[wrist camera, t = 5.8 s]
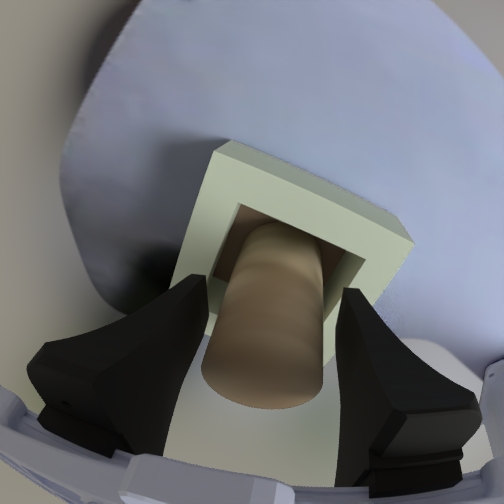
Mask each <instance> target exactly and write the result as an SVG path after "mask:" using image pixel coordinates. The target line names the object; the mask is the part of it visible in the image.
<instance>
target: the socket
mask: <svg viewBox="0 0 504 504" xmlns="http://www.w3.org/2000/svg"><path fill="white" fill-rule="evenodd" d="M274 222H283V223H287V224H290V225H292V226H294V227H296V228H299V229H301V230H303V231H305V232H308V233H310V234H311V235H312V236H313V237H314V238H315V240H316V241H317V243H318V245H319V247H320V250H321V254H322V278H323V368H324V367H325V365H326V364H327V363H328V362H329V360H330V359H331V358H332V357H333V356H334V355H335V327H336V322H337V317H338V313H339V308H340V303H341V298H342V293H343V287H348V288H359V289H360V290H361V292H362V293H363V294H364V296H365V297H366V299H367V300H368V301H369V303H370V304H371V306H373V305H374V303H375V302H376V301H377V299H378V298H379V296H380V295H381V294H382V292H383V291H384V289H385V288H386V287H387V285H388V284H389V282H390V281H391V279H392V278H393V277H394V275H395V274H396V272H397V271H398V269H399V268H400V266H401V265H402V263H403V262H404V260H405V259H406V257H407V256H408V254H409V253H410V251H411V249H412V248H413V246H414V245H415V243H414V242H413V240H412V239H411V237H410V235H409V234H408V232H407V231H406V229H405V228H404V226H403V225H402V223H401V222H400V220H399V219H398V217H397V216H395V215H393V214H392V213H390V212H388V211H386V210H384V209H382V208H380V207H378V206H376V205H375V204H373V203H371V202H369V201H367V200H365V199H363V198H361V197H359V196H357V195H355V194H353V193H351V192H349V191H347V190H345V189H343V188H341V187H339V186H337V185H335V184H333V183H330V182H328V181H326V180H324V179H322V178H320V177H318V176H316V175H313V174H311V173H309V172H307V171H305V170H303V169H300V168H298V167H296V166H294V165H291V164H289V163H287V162H284V161H282V160H280V159H278V158H275V157H273V156H271V155H268V154H266V153H263V152H261V151H259V150H256V149H254V148H251V147H249V146H246V145H244V144H241V143H239V142H236V141H234V140H230V141H229V142H227V143H226V144H224V145H222V146H221V147H219V148H217V149H216V150H214V151H213V154H212V157H211V160H210V163H209V165H208V168H207V171H206V174H205V177H204V180H203V183H202V186H201V188H200V191H199V194H198V197H197V200H196V203H195V206H194V209H193V213H192V216H191V219H190V222H189V225H188V228H187V231H186V234H185V238H184V241H183V244H182V247H181V251H180V254H179V257H178V261H177V264H176V267H175V271H174V274H173V278H172V281H171V285H170V288H172V287H173V286H174V285H176V284H177V283H179V282H180V281H181V280H183V279H184V278H185V277H187V276H188V275H190V274H200V275H206V283H207V295H208V306H209V319H208V322H207V326H206V329H205V333H204V334H206V335H208V336H211V334H212V331H213V328H214V325H215V322H216V319H217V316H218V313H219V310H220V307H221V304H222V301H223V298H224V295H225V292H226V289H227V286H228V284H229V281H230V278H231V275H232V272H233V269H234V266H235V263H236V260H237V257H238V254H239V251H240V248H241V245H242V243H243V241H244V239H245V238H246V236H247V235H248V234H249V233H250V232H251V231H253V230H254V229H256V228H257V227H259V226H262V225H264V224H268V223H274ZM170 288H169V289H170Z"/></svg>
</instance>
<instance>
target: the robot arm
mask: <svg viewBox="0 0 504 504" xmlns="http://www.w3.org/2000/svg"><path fill="white" fill-rule="evenodd" d="M208 319H209V306H208V295H207V283H206V275H200V274H190V275H188V276H187V277H185V278H184V279H183V280H181V281H180V282H179V283H177V284H176V285H174V286H173V287H172V288H170V289H169V290H167V291H166V292H165V293H163V294H162V295H160V296H159V297H158V298H156V299H154V300H153V301H151V302H150V303H148V304H147V305H145V306H143V307H142V308H140V309H139V310H137V311H135V312H133V313H132V314H130V315H128V316H126V317H124V318H122V319H120V320H118V321H116V322H113V323H111V324H109V325H106V326H104V327H101V328H99V329H96V330H93V331H91V332H88V333H84V334H81V335H78V336H74V337H71V338H66V339H62V340H56V341H51V342H46V343H45V344H44V345H43V346H42V348H41V349H40V350H39V351H38V352H37V353H36V355H35V356H34V357H33V359H32V360H31V361H30V362H29V364H28V365H27V374H28V377H29V379H30V381H31V383H32V384H33V386H34V387H35V389H36V390H37V392H38V393H39V395H40V396H41V398H42V399H43V401H44V402H45V404H46V405H45V407H44V408H43V410H42V411H41V413H40V414H39V415H38V414H36V413H34V412H32V411H30V410H28V409H27V407H26V405H25V404H24V402H23V401H22V400H21V399H20V398H19V397H18V396H17V395H16V394H14V393H13V392H11V391H9V390H7V389H6V388H4V387H2V386H1V385H0V459H1V460H2V461H4V462H5V463H6V464H8V465H9V466H10V467H12V468H13V469H15V470H16V471H18V472H19V473H21V474H22V475H23V476H25V477H26V478H28V479H29V480H31V481H32V482H34V483H35V484H37V485H39V486H40V487H42V488H43V489H45V490H46V491H48V492H50V493H51V494H53V495H54V496H56V497H58V498H60V499H61V500H63V501H65V502H67V503H68V504H504V359H503V360H500V361H498V362H496V363H494V364H491V365H489V366H488V367H487V369H486V371H485V377H484V382H483V387H482V392H481V397H480V401H479V404H478V401H477V399H476V396H475V394H474V392H472V391H470V390H468V389H466V388H464V387H462V386H460V385H458V384H456V383H454V382H453V381H451V380H450V379H448V378H446V377H445V376H443V375H442V374H440V373H438V372H437V371H436V370H434V369H433V368H432V367H430V366H429V365H428V364H426V363H425V362H424V361H422V360H421V359H420V358H419V357H418V356H416V355H415V354H414V353H413V352H412V351H411V350H410V349H409V348H408V347H407V346H406V345H404V344H403V343H402V342H401V341H400V340H399V339H398V337H397V336H396V335H395V334H394V333H393V332H392V331H391V330H390V329H389V327H388V326H387V325H386V324H385V323H384V321H383V320H382V319H381V318H380V316H379V315H378V314H377V312H376V311H375V310H374V308H373V307H372V306H371V304H370V303H369V301H368V300H367V299H366V297H365V296H364V294H363V293H362V292H361V290H360V289H359V288H348V287H343V293H342V298H341V303H340V308H339V313H338V317H337V322H336V327H335V353H336V361H337V371H338V380H339V389H340V404H341V410H340V434H339V435H340V436H339V449H338V460H337V470H336V478H335V485H334V487H305V486H304V487H303V486H289V485H288V484H285V483H283V482H281V481H278V480H276V479H272V478H267V477H262V476H257V475H250V474H243V473H236V472H230V471H224V470H218V469H214V468H208V467H203V466H199V465H194V464H189V463H185V462H181V461H177V460H173V459H169V458H166V457H163V452H164V447H165V443H166V439H167V435H168V431H169V426H170V423H171V419H172V416H173V412H174V408H175V405H176V402H177V399H178V395H179V392H180V389H181V386H182V383H183V381H184V378H185V376H186V374H187V372H188V369H189V367H190V365H191V363H192V361H193V358H194V356H195V354H196V352H197V349H198V347H199V345H200V343H201V341H202V338H203V336H204V333H205V329H206V326H207V322H208ZM482 424H484V425H485V428H486V432H487V435H488V438H489V442H490V446H491V449H492V453H493V457H494V459H492V460H490V461H489V462H487V463H486V464H485V465H484V466H483V467H482V468H481V469H480V470H477V471H473V472H469V473H465V474H462V471H461V466H460V461H459V460H461V459H462V458H463V452H462V447H463V446H464V445H465V444H466V442H467V441H468V440H469V439H470V438H471V437H472V436H473V435H474V434H475V433H476V431H477V429H479V427H480V425H482Z"/></svg>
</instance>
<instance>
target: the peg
mask: <svg viewBox="0 0 504 504" xmlns="http://www.w3.org/2000/svg"><path fill="white" fill-rule="evenodd" d="M201 371H202V375H203V377H204V379H205V381H206V382H207V384H208V385H209V386H210V387H211V388H212V389H213V390H214V391H216V392H217V393H218V394H220V395H221V396H223V397H225V398H227V399H229V400H231V401H233V402H236V403H239V404H241V405H245V406H249V407H254V408H261V409H284V408H291V407H295V406H298V405H301V404H304V403H306V402H308V401H310V400H311V399H312V398H314V397H315V396H316V395H317V394H318V392H319V391H320V390H321V388H322V385H323V278H322V254H321V250H320V247H319V245H318V243H317V241H316V240H315V238H314V237H313V236H312V235H311V234H310V233H308V232H305V231H303V230H301V229H299V228H296V227H294V226H292V225H290V224H287V223H283V222H274V223H268V224H264V225H262V226H259V227H257V228H256V229H254V230H253V231H251V232H250V233H249V234H248V235H247V236H246V238H245V239H244V241H243V243H242V245H241V248H240V251H239V254H238V257H237V260H236V263H235V266H234V269H233V272H232V275H231V278H230V281H229V284H228V286H227V289H226V292H225V295H224V298H223V301H222V304H221V307H220V310H219V313H218V316H217V319H216V322H215V325H214V328H213V331H212V334H211V337H210V340H209V343H208V346H207V349H206V352H205V355H204V358H203V361H202V365H201Z"/></svg>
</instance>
